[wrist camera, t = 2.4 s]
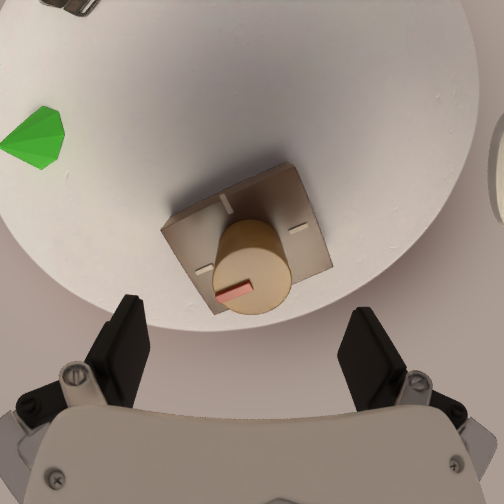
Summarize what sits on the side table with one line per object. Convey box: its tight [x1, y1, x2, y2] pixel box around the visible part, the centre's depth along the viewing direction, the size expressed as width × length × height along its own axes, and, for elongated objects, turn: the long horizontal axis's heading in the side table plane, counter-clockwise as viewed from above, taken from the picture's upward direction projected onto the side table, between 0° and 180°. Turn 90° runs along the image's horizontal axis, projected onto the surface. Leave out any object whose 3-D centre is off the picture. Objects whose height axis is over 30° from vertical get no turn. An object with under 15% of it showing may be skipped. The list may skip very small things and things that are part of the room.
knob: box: [212, 220, 292, 315], centre depth 17 cm, size 4×4×5 cm
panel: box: [161, 162, 333, 315], centre depth 20 cm, size 10×9×3 cm
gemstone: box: [0, 106, 65, 170], centre depth 14 cm, size 6×6×6 cm
